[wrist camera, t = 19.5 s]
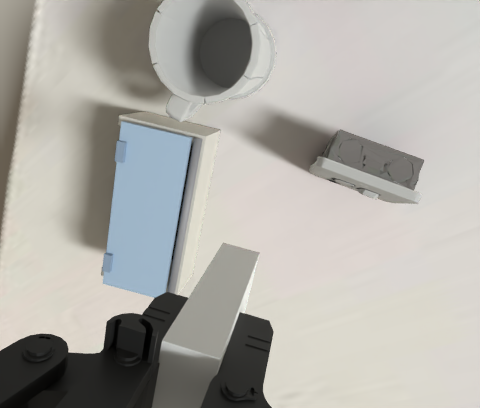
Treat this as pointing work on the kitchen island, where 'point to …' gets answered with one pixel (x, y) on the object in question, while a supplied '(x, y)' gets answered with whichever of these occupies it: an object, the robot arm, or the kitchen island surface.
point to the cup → (209, 52)
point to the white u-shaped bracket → (200, 187)
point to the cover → (149, 208)
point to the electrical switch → (369, 168)
